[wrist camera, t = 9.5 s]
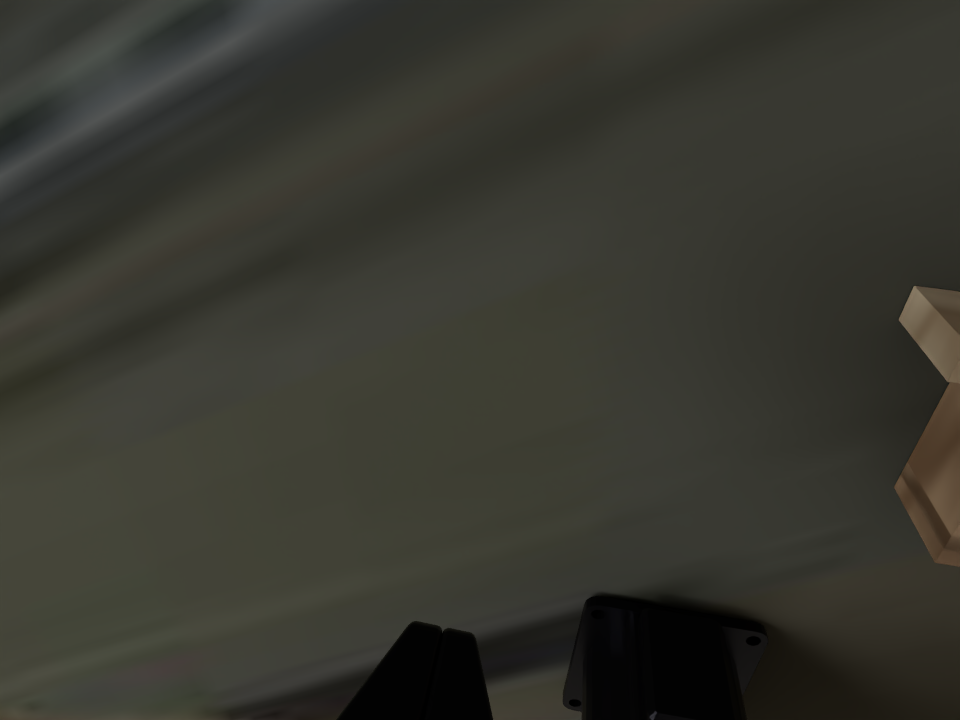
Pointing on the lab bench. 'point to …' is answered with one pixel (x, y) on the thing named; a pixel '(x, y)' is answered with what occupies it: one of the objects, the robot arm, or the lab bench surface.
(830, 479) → the lab bench surface
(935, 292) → the trap channel
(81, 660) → the lab bench surface
